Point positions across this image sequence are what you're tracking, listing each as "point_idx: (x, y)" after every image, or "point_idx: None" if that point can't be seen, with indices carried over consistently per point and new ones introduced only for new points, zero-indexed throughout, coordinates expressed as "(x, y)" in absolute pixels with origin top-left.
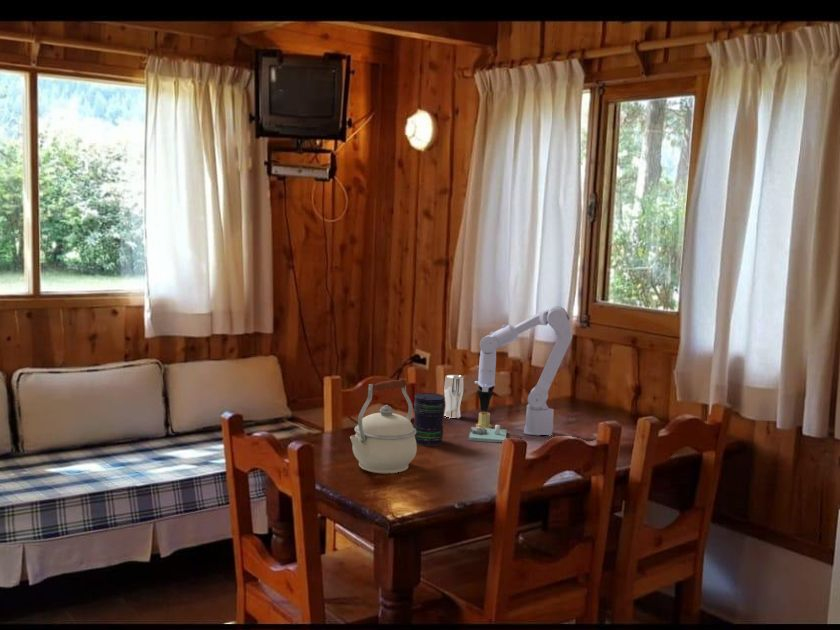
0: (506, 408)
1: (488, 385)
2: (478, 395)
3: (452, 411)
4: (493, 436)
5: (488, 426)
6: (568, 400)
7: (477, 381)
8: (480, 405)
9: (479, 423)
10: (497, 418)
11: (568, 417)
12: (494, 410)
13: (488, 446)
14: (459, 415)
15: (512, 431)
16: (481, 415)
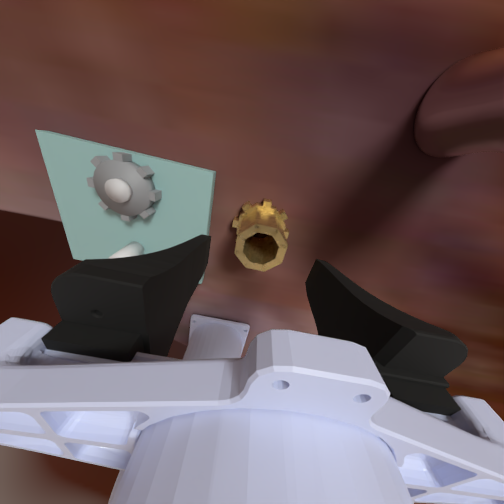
0: (492, 333)
1: (64, 445)
2: (115, 258)
3: (457, 94)
4: (99, 231)
5: (236, 240)
6: None
7: (331, 411)
8: (186, 241)
9: (250, 213)
10: (377, 289)
11: None
12: (485, 300)
13: (10, 195)
14: (431, 148)
15: (222, 295)
16: (240, 230)
